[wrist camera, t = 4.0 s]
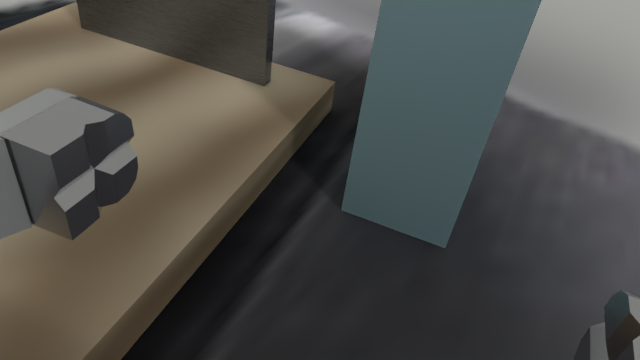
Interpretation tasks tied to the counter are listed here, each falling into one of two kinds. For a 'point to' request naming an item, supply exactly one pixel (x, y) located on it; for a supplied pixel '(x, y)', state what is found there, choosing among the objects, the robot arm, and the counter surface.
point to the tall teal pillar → (431, 108)
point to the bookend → (192, 31)
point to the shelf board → (140, 183)
